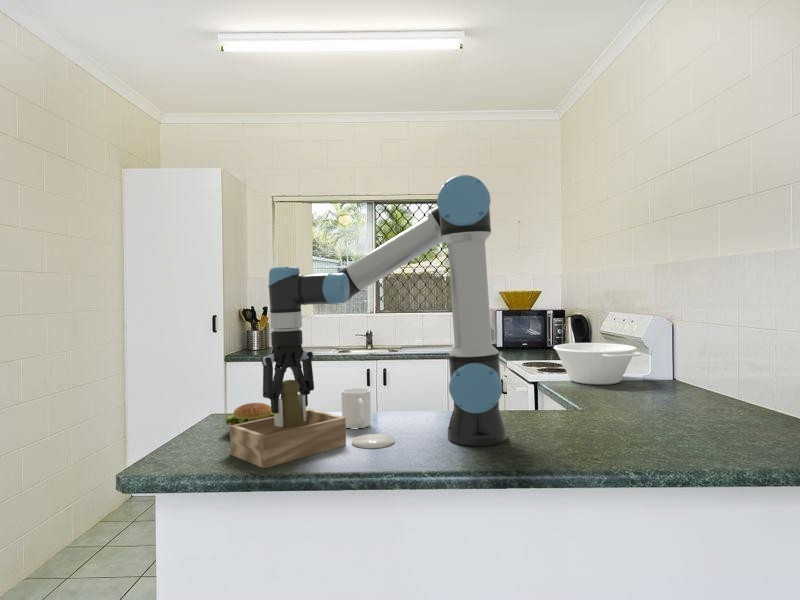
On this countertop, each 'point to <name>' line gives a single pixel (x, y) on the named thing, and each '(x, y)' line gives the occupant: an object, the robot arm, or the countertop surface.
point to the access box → (286, 439)
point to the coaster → (373, 441)
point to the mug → (356, 407)
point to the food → (249, 413)
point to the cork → (291, 404)
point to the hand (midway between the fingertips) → (290, 422)
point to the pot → (595, 361)
